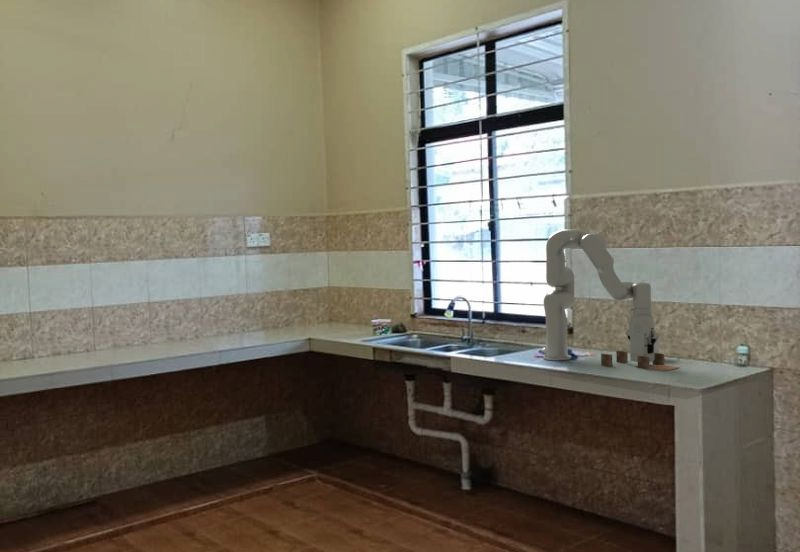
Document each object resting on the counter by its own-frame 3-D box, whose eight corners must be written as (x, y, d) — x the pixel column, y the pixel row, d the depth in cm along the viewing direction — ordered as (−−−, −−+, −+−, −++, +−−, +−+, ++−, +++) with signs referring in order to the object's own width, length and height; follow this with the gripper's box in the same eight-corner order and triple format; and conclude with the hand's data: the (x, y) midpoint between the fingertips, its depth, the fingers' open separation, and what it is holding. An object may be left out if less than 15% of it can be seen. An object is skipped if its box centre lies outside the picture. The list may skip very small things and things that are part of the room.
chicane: (601, 365, 331) (601, 353, 331) (625, 359, 342) (625, 348, 341) (640, 370, 316) (640, 358, 315) (664, 365, 326) (664, 353, 325)
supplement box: (643, 363, 322) (643, 333, 322) (629, 361, 328) (629, 332, 328) (655, 361, 326) (654, 331, 326) (640, 358, 333) (640, 330, 332)
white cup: (662, 360, 337) (661, 338, 337) (644, 360, 338) (643, 338, 337) (657, 357, 345) (656, 335, 345) (639, 357, 346) (639, 336, 345)
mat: (647, 368, 320) (647, 367, 320) (660, 365, 326) (660, 364, 326) (666, 371, 313) (666, 370, 313) (679, 368, 319) (679, 367, 318)
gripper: (619, 311, 331) (620, 351, 332) (654, 313, 317) (654, 355, 318) (630, 309, 335) (630, 349, 336) (664, 312, 321) (665, 353, 323)
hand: (642, 352), depth 327 cm, fingers closed on supplement box, 7 cm apart
